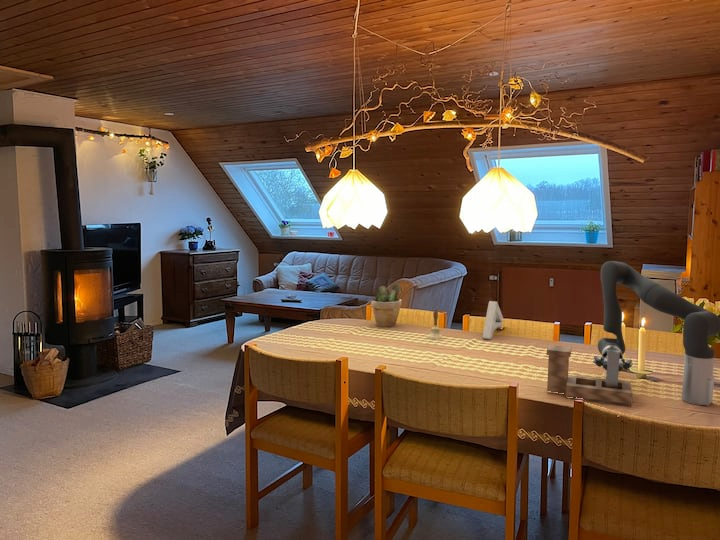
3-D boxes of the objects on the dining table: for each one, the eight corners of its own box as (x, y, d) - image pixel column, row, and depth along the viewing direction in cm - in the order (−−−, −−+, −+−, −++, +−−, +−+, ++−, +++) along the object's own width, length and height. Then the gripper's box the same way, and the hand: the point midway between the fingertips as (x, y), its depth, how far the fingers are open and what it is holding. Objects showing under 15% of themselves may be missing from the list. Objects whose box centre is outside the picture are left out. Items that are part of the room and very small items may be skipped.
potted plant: (388, 330, 320) (388, 287, 318) (364, 325, 333) (364, 284, 330) (407, 325, 334) (407, 284, 331) (383, 320, 346) (383, 281, 344)
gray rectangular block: (616, 390, 209) (619, 349, 207) (617, 394, 204) (619, 352, 202) (605, 389, 210) (607, 348, 208) (605, 393, 206) (607, 351, 204)
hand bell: (445, 339, 299) (445, 309, 298) (430, 339, 298) (431, 310, 296) (439, 335, 307) (440, 307, 306) (425, 336, 306) (426, 307, 304)
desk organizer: (629, 394, 211) (632, 351, 209) (631, 406, 198) (634, 360, 196) (547, 384, 223) (549, 343, 221) (544, 395, 210) (546, 351, 208)
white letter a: (499, 359, 320) (490, 338, 296) (492, 358, 322) (482, 337, 298) (505, 324, 329) (497, 301, 306) (498, 323, 331) (489, 300, 307)
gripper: (593, 345, 221) (592, 356, 206) (632, 348, 216) (635, 360, 200) (592, 363, 222) (591, 375, 207) (631, 367, 217) (633, 380, 201)
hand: (612, 368), depth 203 cm, fingers closed on gray rectangular block, 4 cm apart
